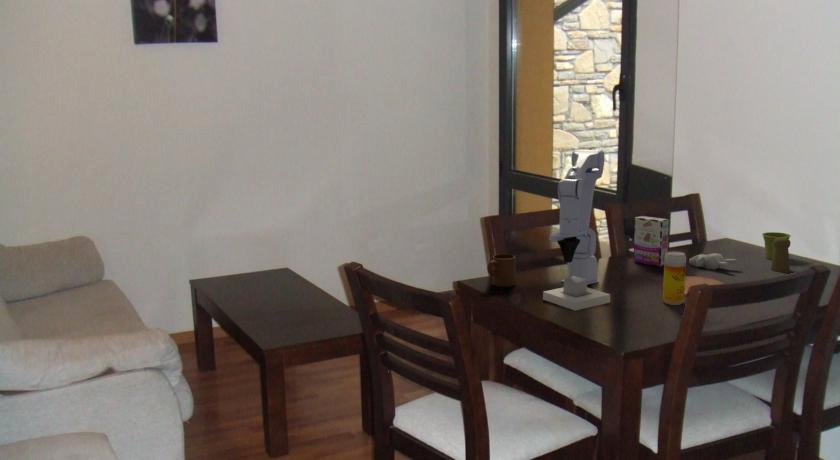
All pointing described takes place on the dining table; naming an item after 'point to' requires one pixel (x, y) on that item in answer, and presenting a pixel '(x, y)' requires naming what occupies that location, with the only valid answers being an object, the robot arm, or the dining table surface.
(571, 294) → the plug
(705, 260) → the bunny figurine
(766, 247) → the plant pot
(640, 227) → the candy bar box
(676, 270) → the yellow supplement bottle
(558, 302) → the socket
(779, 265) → the olive tall rounded piece
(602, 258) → the dining table surface
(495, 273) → the mug
